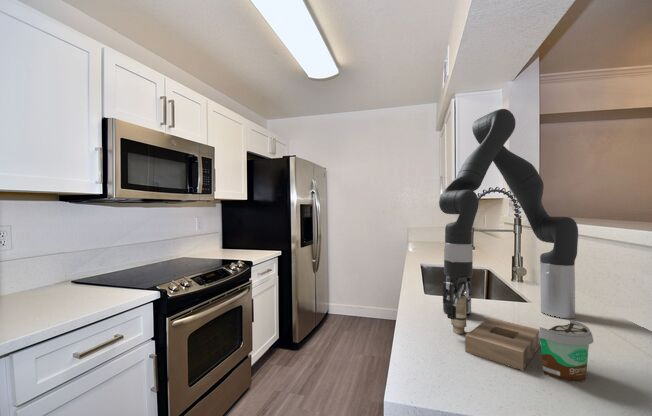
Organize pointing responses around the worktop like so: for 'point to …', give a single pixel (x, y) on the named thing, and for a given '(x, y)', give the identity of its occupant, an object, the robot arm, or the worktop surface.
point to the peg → (460, 316)
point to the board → (503, 342)
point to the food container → (565, 351)
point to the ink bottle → (468, 303)
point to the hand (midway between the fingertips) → (457, 315)
